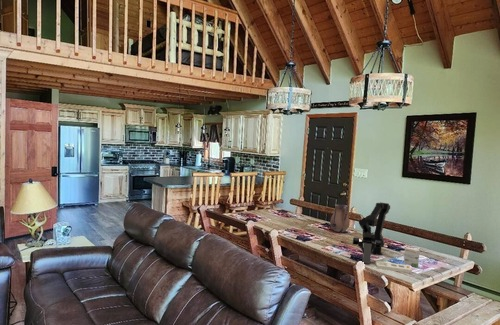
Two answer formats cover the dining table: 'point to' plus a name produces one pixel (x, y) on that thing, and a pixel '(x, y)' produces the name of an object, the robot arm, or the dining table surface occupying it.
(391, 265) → the power strip
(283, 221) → the dining table surface
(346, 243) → the dining table surface
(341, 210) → the ceramic pitcher
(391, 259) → the dining table surface
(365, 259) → the charger plug
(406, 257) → the ink box
